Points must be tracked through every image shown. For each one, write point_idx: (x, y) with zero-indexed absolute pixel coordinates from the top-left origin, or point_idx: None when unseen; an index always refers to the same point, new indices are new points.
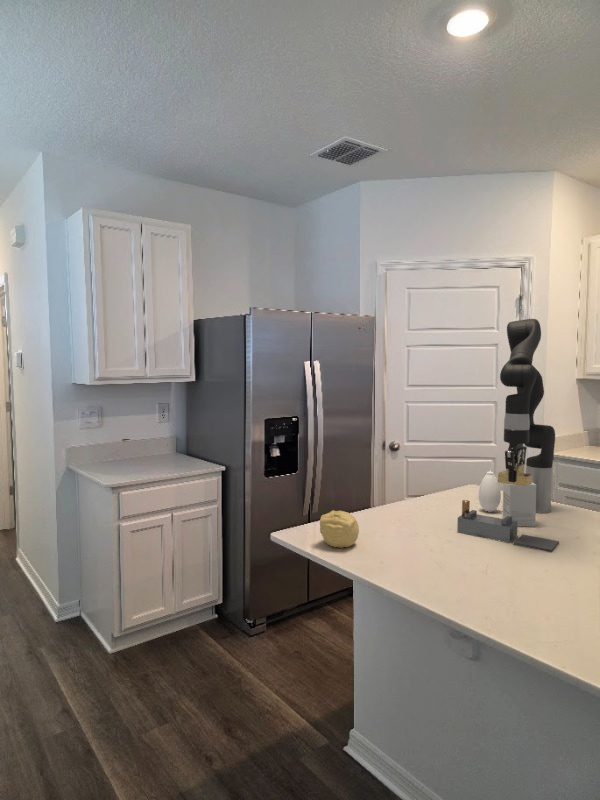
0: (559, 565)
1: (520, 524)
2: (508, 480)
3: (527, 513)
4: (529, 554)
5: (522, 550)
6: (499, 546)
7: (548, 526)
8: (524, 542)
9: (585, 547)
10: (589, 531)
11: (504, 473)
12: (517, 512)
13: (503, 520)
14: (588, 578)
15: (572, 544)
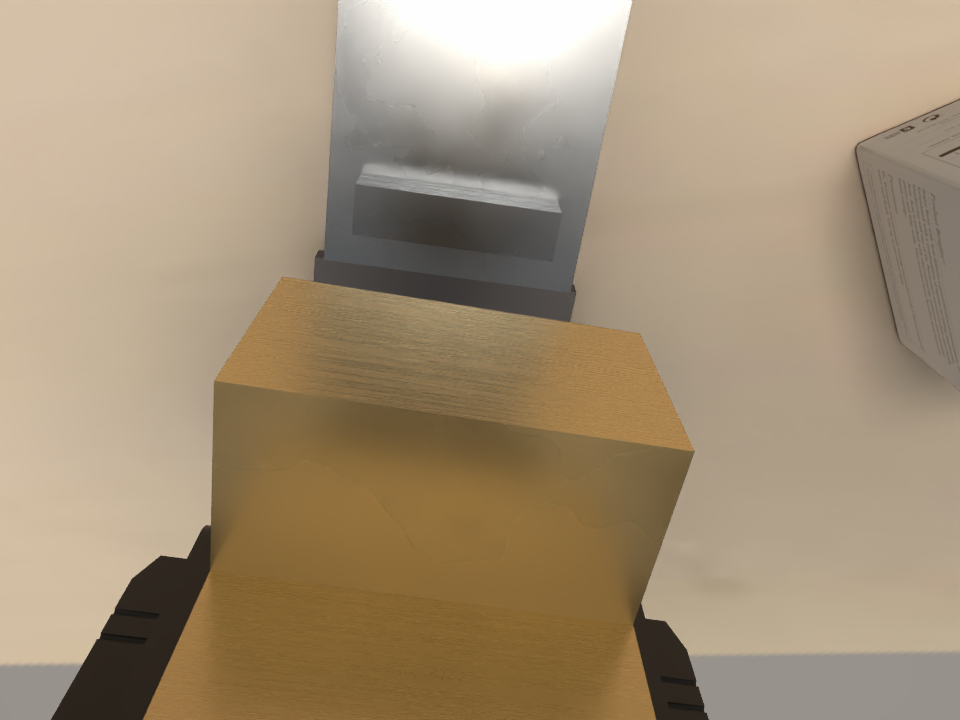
0: (94, 533)
1: (881, 239)
2: (201, 532)
3: (948, 332)
4: (171, 374)
5: (226, 324)
6: (204, 157)
7: (946, 422)
8: None
9: None
10: (898, 635)
11: (271, 530)
12: (936, 248)
13: (355, 204)
14: (4, 648)
15: None
